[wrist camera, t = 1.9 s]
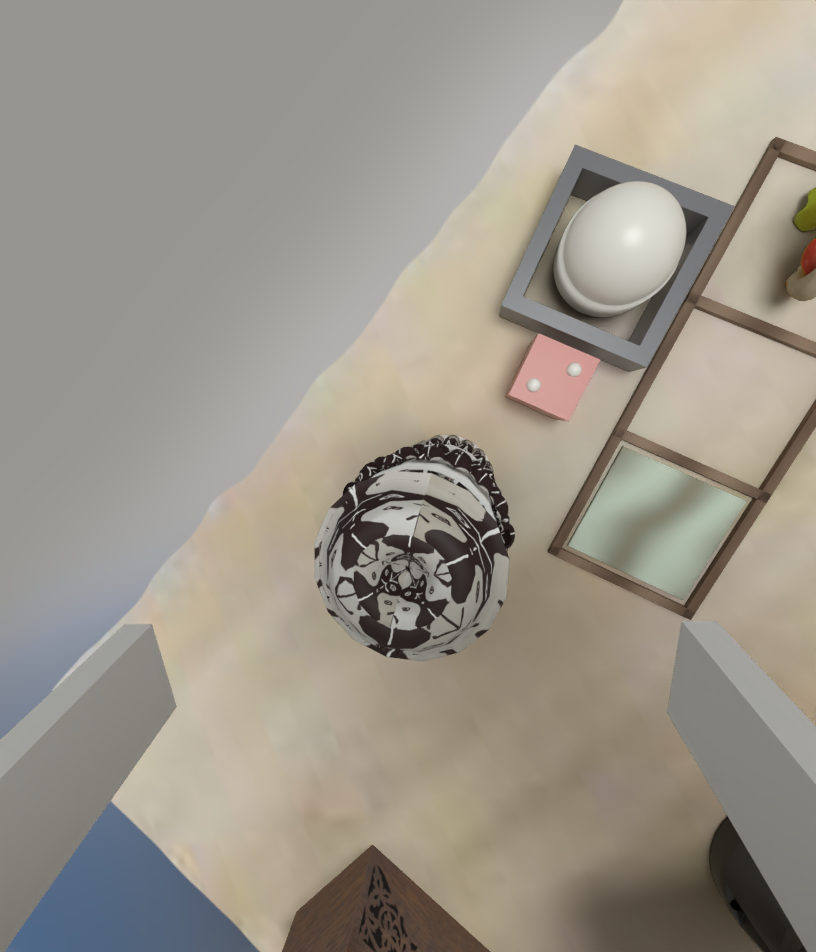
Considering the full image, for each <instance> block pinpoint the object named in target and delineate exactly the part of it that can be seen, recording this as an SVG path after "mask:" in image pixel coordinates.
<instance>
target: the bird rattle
mask: <svg viewBox="0 0 816 952" xmlns="http://www.w3.org/2000/svg"><path fill="white" fill-rule="evenodd" d="M794 223H795V225H796V226H797V227H798V228H799V229H800V230H801V231H808V230H813V229H816V188H814V189H812V190H811V191H809V193H808V202H807V205H806V207H805V208H804V209H802V210H801V211H800V212H799V213H798V214H797V215H796V216H795V221H794ZM786 287H787V293H788V294H789V295H790V296H791V297H793V298H795V299H797V300H799V301H807V300H810V299H813V298H815V297H816V238H814V239H813V240H812V241H811V242H810V243H809V244H808V246H807V247H806V248H805V250H804V252H803V254H802V257H801V265H800V266H799V267H798V268H797V269H796V271H795V272H794V273H793V274H792V275H791V276H790V277H789V278H788V279H787V281H786Z"/></svg>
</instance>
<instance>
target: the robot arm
mask: <svg viewBox="0 0 816 952" xmlns="http://www.w3.org/2000/svg"><path fill="white" fill-rule="evenodd" d="M176 707H177V706H176V703H175V700H174V696H173V693H172V690H171V686H170V683H169V680H168V676H167V673H166V670H165V666H164V663H163V660H162V656H161V653H160V650H159V646H158V643H157V640H156V636H155V633H154V630H153V626H152V624H138V625H123V626H122V627H121V628H120V629H119V630H118V631H117V632H116V633H115V634H114V635H113V636H112V637H111V638H110V639H108V640H107V641H106V642H105V643H104V644H103V645H102V646H101V647H100V648H99V649H98V650H97V651H96V652H94V653H93V654H92V655H91V656H90V657H89V658H88V659H87V660H86V661H85V662H84V663H83V664H82V665H80V666H79V667H78V668H77V669H76V670H75V671H74V672H73V673H72V674H71V675H70V676H69V677H68V678H66V679H65V680H64V681H63V682H62V683H61V684H60V685H59V686H58V687H57V688H56V689H55V690H54V691H52V692H51V693H50V694H49V695H48V696H47V697H46V698H45V699H44V700H43V701H42V702H41V703H40V704H39V705H38V706H36V707H35V708H34V709H33V710H32V711H31V712H30V713H29V714H28V715H27V716H26V717H25V718H23V720H21V721H20V722H19V723H18V724H17V725H16V726H15V727H14V728H13V729H12V730H11V731H10V732H8V733H7V734H6V735H5V736H4V737H3V738H2V739H1V740H0V952H4V951H5V950H6V948H7V947H8V946H9V944H10V943H11V941H12V940H13V938H14V937H15V936H16V934H17V933H18V931H19V930H20V928H21V927H22V926H23V924H24V923H25V921H26V920H27V919H28V917H29V916H30V914H31V913H32V911H33V910H34V909H35V907H36V906H37V904H38V903H39V901H40V900H41V899H42V897H43V896H44V894H45V893H46V892H47V890H48V889H49V887H50V886H51V884H52V883H53V882H54V880H55V879H56V877H57V876H58V874H59V873H60V872H61V870H62V869H63V867H64V866H65V865H66V863H67V862H68V860H69V859H70V857H71V856H72V855H73V853H74V852H75V850H76V849H77V847H78V846H79V845H80V843H81V842H82V840H83V839H84V838H85V836H86V835H87V833H88V832H89V830H90V829H91V828H92V826H93V825H94V823H95V822H96V820H97V819H98V818H99V816H100V815H101V813H102V812H103V811H104V809H105V807H106V806H107V805H108V803H109V802H110V801H111V799H112V798H113V796H114V795H115V793H116V792H117V791H118V789H119V788H120V786H121V785H122V784H123V782H124V781H125V779H126V778H127V776H128V775H129V774H130V772H131V771H132V769H133V768H134V766H135V765H136V764H137V762H138V761H139V759H140V758H141V757H142V755H143V754H144V752H145V751H146V749H147V748H148V747H149V745H150V744H151V742H152V741H153V739H154V738H155V737H156V735H157V734H158V732H159V731H160V730H161V728H162V727H163V725H164V724H165V722H166V721H167V720H168V718H169V717H170V715H171V714H172V712H173V711H174V710H175V708H176ZM667 714H668V715H669V717H670V719H671V720H672V722H673V724H674V726H675V727H676V729H677V731H678V732H679V734H680V736H681V737H682V739H683V741H684V743H685V744H686V746H687V748H688V749H689V751H690V753H691V755H692V756H693V758H694V760H695V761H696V763H697V765H698V766H699V768H700V770H701V772H702V773H703V775H704V777H705V778H706V780H707V782H708V784H709V785H710V787H711V789H712V790H713V792H714V794H715V795H716V797H717V799H718V801H719V802H720V804H721V806H722V807H723V809H724V811H725V812H726V814H727V816H728V819H727V820H726V821H725V822H724V823H723V824H722V826H721V827H720V828H719V830H718V832H717V833H716V835H715V837H714V840H713V843H712V846H711V851H710V866H711V872H712V875H713V878H714V881H715V883H716V885H717V887H718V889H719V891H720V893H721V895H722V897H723V899H724V901H725V903H726V905H727V907H728V909H729V911H730V912H731V914H732V915H733V917H734V918H735V920H736V921H737V922H738V924H739V925H740V926H741V927H742V928H743V930H744V931H745V932H746V933H747V934H748V936H749V937H750V938H751V939H752V940H753V941H754V943H755V944H756V945H757V946H758V947H759V948H760V950H761V951H762V952H816V726H815V725H814V724H813V723H812V722H811V721H810V720H809V719H808V718H807V717H806V716H805V714H804V713H803V712H802V711H801V710H800V709H799V708H798V707H797V706H796V705H795V704H794V703H793V702H792V701H791V700H790V699H789V697H788V696H787V695H786V694H785V693H784V692H783V691H782V690H781V689H780V688H779V687H778V686H777V685H776V684H775V683H774V682H773V680H772V679H771V678H770V677H769V676H768V675H767V674H766V673H765V672H764V671H763V670H762V669H761V668H760V667H759V666H758V664H757V663H756V662H755V661H754V660H753V659H752V658H751V657H750V656H749V655H748V654H747V653H746V652H745V651H744V650H743V649H742V647H741V646H740V645H739V644H738V643H737V642H736V641H735V640H734V639H733V638H732V637H731V636H730V635H729V634H728V633H727V632H726V630H725V629H724V628H723V627H722V626H721V625H720V624H719V623H718V622H717V621H682V622H681V628H680V634H679V640H678V647H677V653H676V659H675V665H674V672H673V678H672V684H671V690H670V696H669V703H668V709H667Z"/></svg>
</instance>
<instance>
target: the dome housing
mask: <svg viewBox="0 0 816 952" xmlns="http://www.w3.org/2000/svg"><path fill="white" fill-rule="evenodd" d="M633 181H642V182H649V183H653V184H656V185H658V186H660V187H662V188H664V189H666V190H667V191H669V192H670V193H671V194H672V195H673V196H674V197H675V199H676V200H677V201H678V203H679V205H680V206H681V208H682V211H683V213H684V217H685V222H686V240H685V245H684V249H683V252H682V255H681V258H680V260H679V263H678V265H677V267H676V269H675V271H674V273H673V275H672V276H671V278H670V279H669V280H668V282H667V283H666V284H665V285H664V286H663V287H662V288H661V289H660V290H659V291H658V292H657V293H656V294H654V295H653V297H652V298H651V300H650V302H649V304H648V306H647V308H646V310H645V312H644V314H643V315H642V317H641V319H640V321H639V323H638V325H637V327H636V329H635V331H634V332H633V334H632V336H631V338H630V340H629V341H627V340H625V339H622V338H620V337H617V336H615V335H613V334H610V333H608V332H606V331H603V330H601V329H599V328H596V327H594V326H591V325H589V324H587V323H584V322H582V321H580V320H577V319H575V318H573V317H570V316H568V315H565V314H563V313H561V312H558V311H556V310H554V309H551V308H549V307H547V306H544V305H542V304H539V303H537V302H535V301H532V300H530V299H528V298H525V297H523V296H524V294H525V292H526V290H527V288H528V286H529V284H530V281H531V279H532V277H533V275H534V273H535V271H536V269H537V267H538V264H539V262H540V260H541V258H542V256H543V254H544V252H545V249H546V247H547V245H548V243H549V241H550V239H551V237H552V234H553V232H554V230H555V228H556V226H557V224H558V222H559V219H560V217H561V215H562V213H563V211H564V209H565V207H566V205H567V202H568V200H569V198H570V196H571V195H574V196H577V197H579V198H582V199H584V200H587V201H588V200H590V199H591V198H592V197H594V196H596V195H597V194H599V193H601V192H602V191H604V190H606V189H608V188H610V187H613V186H615V185H618V184H621V183H625V182H633ZM733 208H734V206H733V205H730V204H727V203H725V202H722V201H720V200H717V199H715V198H712V197H709V196H707V195H704V194H702V193H699V192H696V191H694V190H691V189H689V188H686V187H684V186H681V185H678V184H676V183H673V182H671V181H668V180H665V179H663V178H660V177H658V176H655V175H653V174H650V173H647V172H645V171H642V170H640V169H637V168H634V167H632V166H629V165H627V164H624V163H621V162H619V161H616V160H614V159H611V158H609V157H606V156H603V155H601V154H598V153H596V152H593V151H590V150H588V149H585V148H583V147H580V146H578V145H575V146H574V148H573V150H572V152H571V155H570V157H569V159H568V161H567V163H566V165H565V168H564V170H563V172H562V174H561V176H560V179H559V181H558V183H557V185H556V187H555V189H554V192H553V194H552V196H551V198H550V200H549V203H548V205H547V207H546V209H545V211H544V213H543V216H542V218H541V220H540V222H539V224H538V226H537V229H536V231H535V233H534V235H533V237H532V240H531V242H530V244H529V246H528V248H527V250H526V253H525V255H524V257H523V259H522V261H521V264H520V266H519V268H518V270H517V272H516V274H515V277H514V279H513V281H512V283H511V285H510V287H509V290H508V292H507V294H506V296H505V298H504V301H503V303H502V305H501V309H500V314H499V316H500V317H502V318H505V319H507V320H509V321H512V322H514V323H516V324H519V325H521V326H523V327H526V328H528V329H530V330H533V331H535V332H537V333H538V335H537V336H536V337H535V338H534V340H533V341H532V342H531V344H530V346H529V348H528V350H527V352H526V354H525V356H524V358H523V361H522V363H521V365H520V367H519V369H518V371H517V373H516V375H515V377H514V379H513V381H512V383H511V385H510V388H509V390H508V392H507V394H506V396H505V397H507V398H510V399H512V400H514V401H516V402H519V403H521V404H523V405H525V406H527V407H530V408H532V409H534V410H536V411H539V412H541V413H543V414H545V415H548V416H550V417H552V418H554V419H557V420H563V421H569V419H570V417H571V415H572V414H573V412H574V410H575V408H576V406H577V404H578V402H579V400H580V398H581V396H582V394H583V392H584V390H585V389H586V387H587V385H588V383H589V381H590V379H591V377H592V375H593V373H594V371H595V369H596V367H597V366H598V364H599V362H600V360H602V361H605V362H607V363H609V364H612V365H614V366H616V367H619V368H621V369H623V370H626V371H628V372H630V371H634V370H638V369H642V368H646V367H647V366H648V364H649V362H650V360H651V359H652V357H653V355H654V353H655V351H656V349H657V348H658V346H659V344H660V342H661V340H662V338H663V337H664V335H665V333H666V331H667V329H668V327H669V326H670V324H671V322H672V320H673V318H674V316H675V315H676V313H677V311H678V309H679V307H680V305H681V303H682V302H683V300H684V298H685V296H686V294H687V292H688V291H689V289H690V287H691V285H692V283H693V281H694V280H695V278H696V276H697V274H698V272H699V270H700V269H701V267H702V265H703V263H704V261H705V259H706V258H707V256H708V254H709V252H710V250H711V248H712V247H713V245H714V243H715V241H716V239H717V237H718V236H719V234H720V232H721V230H722V228H723V226H724V225H725V223H726V221H727V219H728V217H729V215H730V214H731V212H732V210H733ZM539 333H540V334H539ZM546 336H547V337H546ZM553 339H554V340H553Z"/></svg>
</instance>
